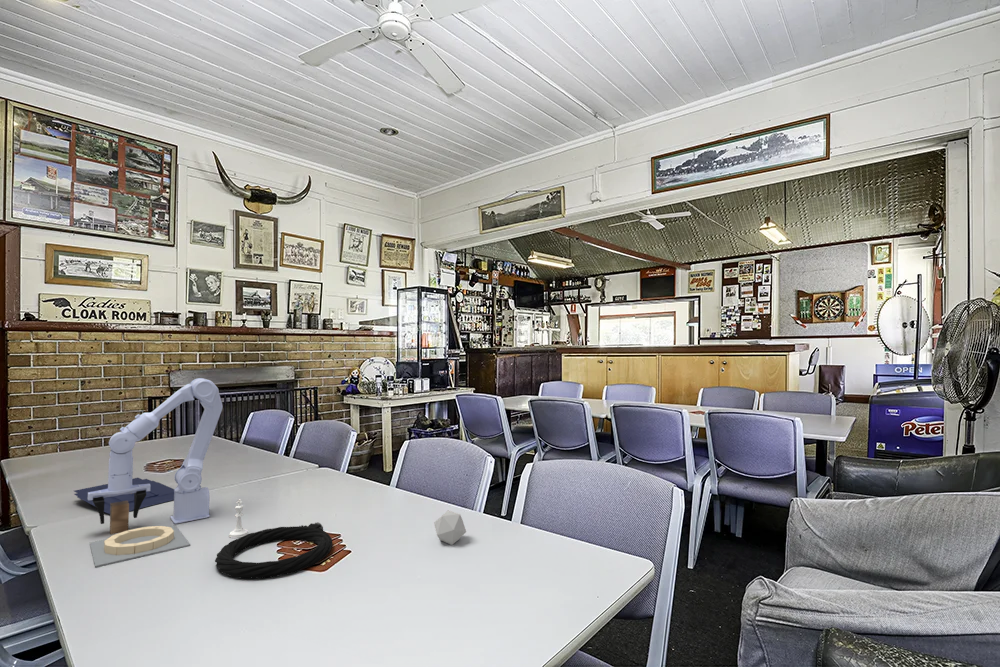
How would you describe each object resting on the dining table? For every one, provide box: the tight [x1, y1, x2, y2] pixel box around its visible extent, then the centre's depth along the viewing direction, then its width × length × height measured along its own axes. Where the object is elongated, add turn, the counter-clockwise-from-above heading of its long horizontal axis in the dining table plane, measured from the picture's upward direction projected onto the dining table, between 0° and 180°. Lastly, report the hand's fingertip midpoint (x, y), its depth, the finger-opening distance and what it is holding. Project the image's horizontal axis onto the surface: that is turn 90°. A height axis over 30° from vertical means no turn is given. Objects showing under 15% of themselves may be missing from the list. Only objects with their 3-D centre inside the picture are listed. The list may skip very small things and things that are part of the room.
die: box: [433, 510, 467, 546], centre depth 138 cm, size 8×9×10 cm
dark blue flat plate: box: [73, 477, 176, 515], centre depth 175 cm, size 24×30×4 cm
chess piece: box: [228, 498, 249, 539], centre depth 142 cm, size 5×5×10 cm
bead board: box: [89, 524, 191, 568], centre depth 134 cm, size 20×20×2 cm
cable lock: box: [214, 522, 333, 580], centre depth 128 cm, size 28×4×30 cm
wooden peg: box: [109, 501, 130, 535], centre depth 145 cm, size 4×4×8 cm
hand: (119, 520), depth 145 cm, fingers open, 7 cm apart
